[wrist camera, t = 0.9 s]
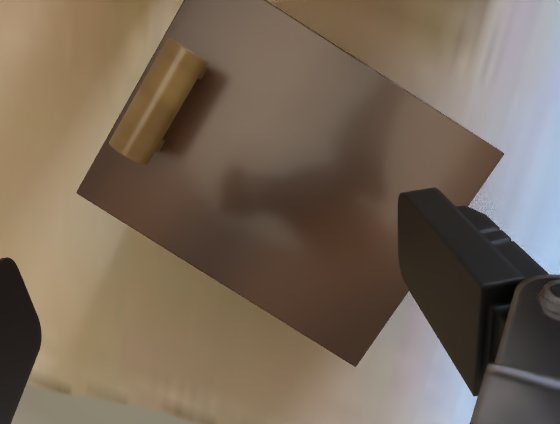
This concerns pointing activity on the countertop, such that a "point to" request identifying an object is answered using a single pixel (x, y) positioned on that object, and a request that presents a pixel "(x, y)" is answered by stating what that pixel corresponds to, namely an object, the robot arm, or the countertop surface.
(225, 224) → the lid
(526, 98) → the countertop surface
